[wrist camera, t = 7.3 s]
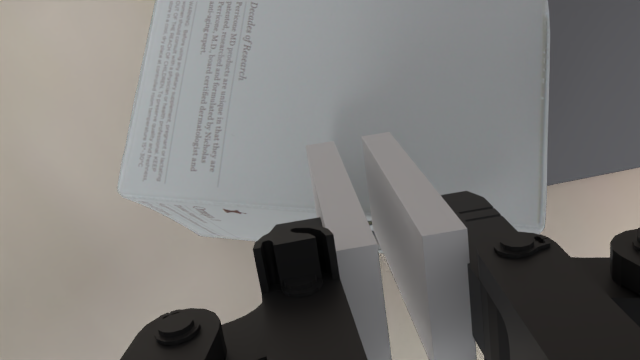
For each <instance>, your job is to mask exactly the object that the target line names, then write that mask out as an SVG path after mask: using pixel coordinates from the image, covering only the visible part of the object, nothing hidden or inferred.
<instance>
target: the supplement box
mask: <svg viewBox="0 0 640 360" xmlns="http://www.w3.org/2000/svg"><path fill="white" fill-rule="evenodd" d="M549 71H550V20H549V7H548V0H156V2H155V5H154V10H153V15H152V20H151V24H150V28H149V33H148V38H147V43H146V48H145V53H144V57H143V61H142V66H141V71H140V77H139V82H138V86H137V90H136V94H135V99H134V104H133V109H132V115H131V120H130V125H129V130H128V135H127V141H126V146H125V150H124V154H123V158H122V163H121V169H120V175H119V181H118V193H119V194H120V195H121V196H122V197H123V198H126V199H129V200H131V201H134V202H136V203H139V204H141V205H144V206H146V207H148V208H150V209H153V210H155V211H157V212H159V213H161V214H163V215H165V216H167V217H169V218H170V219H172V220H174V221H176V222H177V223H179V224H181V225H183V226H185V227H187V228H188V229H190V230H191V231H193V232H194V233H196V234H198V235H199V236H204V237H216V238H227V239H237V240H247V241H258V240H259V239H260V238H261V237H262V236H264V235H266V234H268V233H269V232H270V231H271V230H272V229H273V228H274V226H275V225H276V224H282V223H288V222H294V221H300V220H306V219H312V218H317V215H316V209H315V203H314V196H313V190H312V184H311V177H310V171H309V165H308V158H307V152H306V146H305V145H311V144H318V143H324V142H330V141H334V143H335V145H336V148H337V150H338V152H339V155H340V157H341V159H342V162H343V164H344V167H345V169H346V171H347V174H348V176H349V178H350V181H351V183H352V186H353V188H354V190H355V193H356V195H357V197H358V200H359V202H360V204H361V207H362V209H363V212H364V214H365V216H366V219H367V221H368V223H369V226H370V228H371V231H372V233H373V235H374V238H375V240H376V242H377V246H378V253H383V251H382V249H381V247H380V244H379V242H378V240H377V237H376V235H375V233H374V230H373V225H372V217H371V209H370V201H369V193H368V185H367V177H366V169H365V161H364V153H363V145H362V138H361V136H366V135H373V134H379V133H385V132H390V133H391V134H392V136H393V137H394V138H395V139H396V141H397V142H398V143H399V144H400V146H401V147H402V148H403V149H404V151H405V152H406V153H407V154H408V156H409V157H410V158H411V159H412V160H413V162H414V163H415V164H416V165H417V167H418V168H419V169H420V170H421V172H422V173H423V174H424V175H425V177H426V178H427V179H428V180H429V182H430V183H431V184H432V185H433V187H434V188H435V189H436V190H437V192H438V193H439V194H440V195H444V194H450V193H456V192H462V191H469V192H471V193H474V194H477V195H479V196H482V197H484V198H485V199H486V200H487V201H488V202H489V203H490V204H491V205H492V206H493V208H495V209H496V210H497V211H498V212H499V213H500V214H501V216H503V217H504V218H505V219H506V220H507V221H508V222H509V223H510V224H511V225H512V226H513V227H514V228H515V229H516V230H517V231H518V232H528V233H535V234H540V233H541V232H542V231H543V229H544V227H545V218H546V199H547V146H548V107H549Z"/></svg>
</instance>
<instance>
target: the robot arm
mask: <svg viewBox="0 0 640 360" xmlns="http://www.w3.org/2000/svg"><path fill="white" fill-rule="evenodd" d="M361 138H362V145H363V153H364V161H365V169H366V177H367V185H368V193H369V201H370V209H371V217H372V225H373V230H374V233H375V235H376V237H377V240H378V242H379V244H380V247H381V249H382V251H383V254H384V256H385V258H386V261H387V263H388V265H389V268H390V270H391V272H392V275H393V277H394V279H395V282H396V284H397V286H398V288H399V291H400V293H401V295H402V298H403V300H404V302H405V305H406V307H407V309H408V312H409V314H410V316H411V319H412V321H413V323H414V326H415V328H416V330H417V333H418V335H419V337H420V340H421V342H422V344H423V347H424V349H425V351H426V354H427V356H428V358H429V360H477V358H476V344H475V341H476V343H477V344H478V346H479V348H480V349H481V351H482V353H483V355H484V360H640V228H638V229H634V230H629V231H625V232H622V233H620V234H618V235H616V236H615V237H614V238H613V239H612V241H611V243H610V258H574V257H570V256H569V255H568V254H567V253H566V252H565V251H564V250H563V249H562V248H561V247H560V246H559V245H558V244H557V243H556V242H554V241H553V240H551V239H550V238H548V237H546V236H543V235H539V234H535V233H528V232H518V231H517V230H516V229H515V228H514V227H513V226H512V225H511V224H510V223H509V222H508V221H507V220H506V219H505V218H504V217H503V216H501V214H500V213H499V212H498V211H497V210H496V209H495V208H493V206H492V205H491V204H490V203H489V202H488V201H487V200H486V199H485V198H484V197H482V196H479V195H477V194H474V193H471V192H469V191H462V192H456V193H450V194H444V195H440V194H439V193H438V192H437V190H436V189H435V188H434V187H433V185H432V184H431V183H430V182H429V180H428V179H427V178H426V177H425V175H424V174H423V173H422V172H421V170H420V169H419V168H418V167H417V165H416V164H415V163H414V162H413V160H412V159H411V158H410V157H409V156H408V154H407V153H406V152H405V151H404V149H403V148H402V147H401V146H400V144H399V143H398V142H397V141H396V139H395V138H394V137H393V136H392V134H391V133H390V132H385V133H379V134H373V135H366V136H361ZM305 146H306V152H307V158H308V165H309V171H310V177H311V184H312V190H313V196H314V203H315V209H316V215H317V218H312V219H306V220H300V221H294V222H288V223H282V224H276V225H275V226H274V228H273V229H272V230H271V231H270V232H269V233H268V234H266V235H264V236H262V237H261V238H260V239H259V240H258V241H256V242H255V245H254V248H253V252H254V257H255V262H256V267H257V272H258V277H259V282H260V287H261V292H262V304H261V305H260V306H258V307H257V308H256V309H255V310H254V311H252V312H250V313H249V314H247V315H246V316H243V317H241V318H239V319H236V320H234V321H231V322H229V323H226V324H223V325H221V322H220V319H219V318H218V316H217V315H216V314H215V313H214V312H211V311H209V310H206V309H194V308H190V309H184V310H175V311H171V312H170V313H166V314H164V315H161V316H160V317H159V318H157V319H155V320H154V321H152V322H150V323H149V324H147V325H146V326H145V327H144V328H143V329H142V330H141V331H140V332H139V333H138V334H137V336H136V337H135V339H134V340H133V341H132V343H131V344H130V346H129V347H128V349H127V350H126V352H125V353H124V355H123V356H122V358H121V359H120V360H392V358H391V350H390V342H389V334H388V326H387V318H386V310H385V302H384V294H383V286H382V278H381V270H380V262H379V254H378V246H377V242H376V240H375V238H374V235H373V233H372V231H371V228H370V226H369V223H368V221H367V219H366V216H365V214H364V212H363V209H362V207H361V204H360V202H359V200H358V197H357V195H356V193H355V190H354V188H353V186H352V183H351V181H350V178H349V176H348V174H347V171H346V169H345V167H344V164H343V162H342V159H341V157H340V155H339V152H338V150H337V148H336V145H335V143H334V141H330V142H324V143H318V144H311V145H305Z"/></svg>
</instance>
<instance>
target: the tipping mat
mask: <svg viewBox="0 0 640 360" xmlns="http://www.w3.org/2000/svg"><path fill="white" fill-rule="evenodd" d="M548 7H549V20H550V71H549V107H548V146H547V186H548V185H553V184H558V183H563V182H568V181H573V180H578V179H583V178H588V177H593V176H598V175H604V174H609V173H614V172H619V171H624V170H629V169H634V168H639V167H640V0H548Z"/></svg>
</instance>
